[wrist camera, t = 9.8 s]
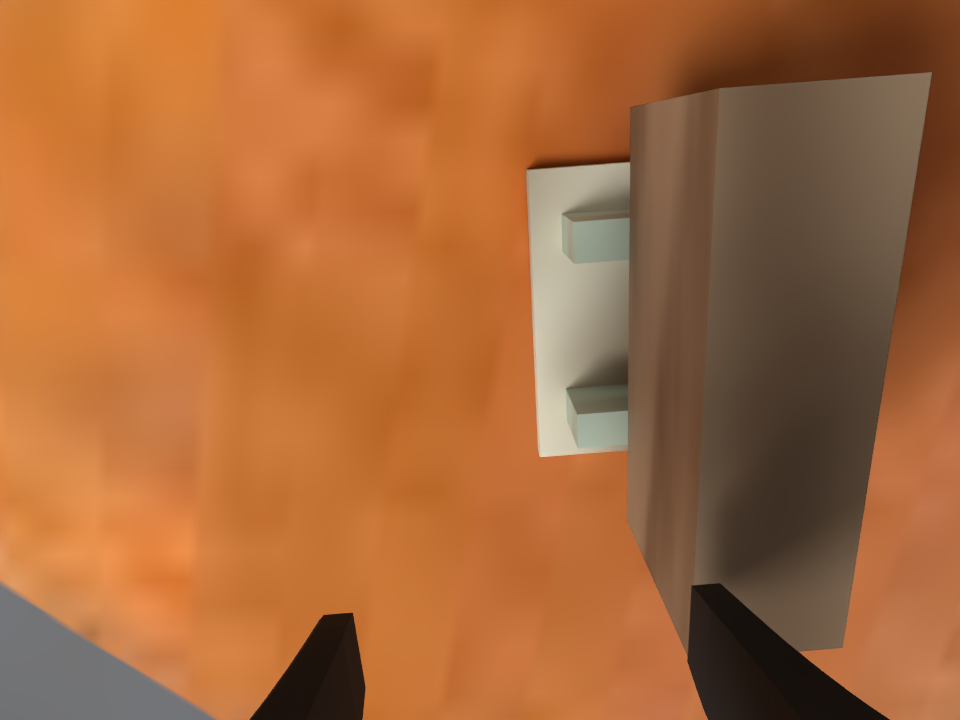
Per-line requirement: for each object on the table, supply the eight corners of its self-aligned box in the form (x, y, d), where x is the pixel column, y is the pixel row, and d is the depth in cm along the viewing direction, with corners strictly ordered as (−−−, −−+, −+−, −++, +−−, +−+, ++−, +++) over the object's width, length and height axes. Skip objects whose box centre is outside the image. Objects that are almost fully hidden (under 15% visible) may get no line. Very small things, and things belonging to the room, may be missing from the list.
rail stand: (805, 148, 20) (858, 149, 17) (777, 430, 23) (818, 467, 21) (526, 169, 20) (536, 173, 17) (537, 449, 23) (548, 488, 20)
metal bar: (770, 96, 17) (931, 72, 11) (738, 511, 21) (842, 647, 15) (630, 107, 17) (719, 88, 11) (626, 520, 21) (689, 660, 15)
